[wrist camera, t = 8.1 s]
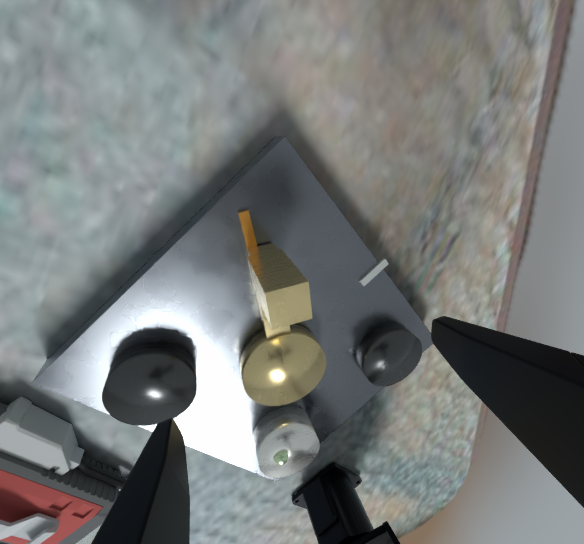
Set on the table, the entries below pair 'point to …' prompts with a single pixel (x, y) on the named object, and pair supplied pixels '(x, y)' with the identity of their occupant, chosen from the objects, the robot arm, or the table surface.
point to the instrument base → (243, 325)
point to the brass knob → (280, 332)
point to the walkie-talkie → (48, 479)
